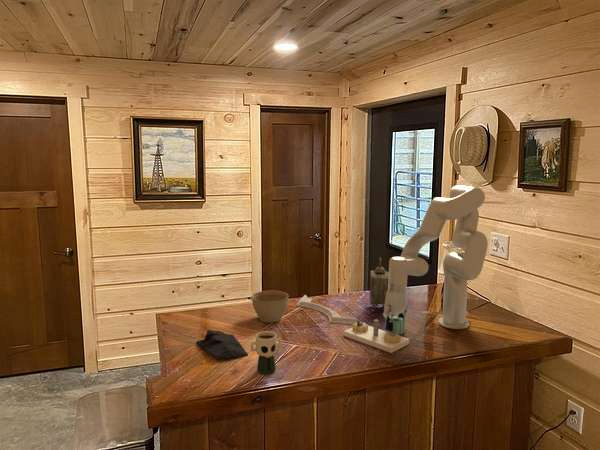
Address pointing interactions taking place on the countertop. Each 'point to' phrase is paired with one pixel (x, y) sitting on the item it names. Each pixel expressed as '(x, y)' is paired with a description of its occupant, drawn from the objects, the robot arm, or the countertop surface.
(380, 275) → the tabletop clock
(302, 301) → the molding
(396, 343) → the gear board
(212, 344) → the dark slate chunk
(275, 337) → the character mug
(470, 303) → the countertop surface
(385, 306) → the robot arm
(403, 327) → the loose gear
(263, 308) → the planter bowl
